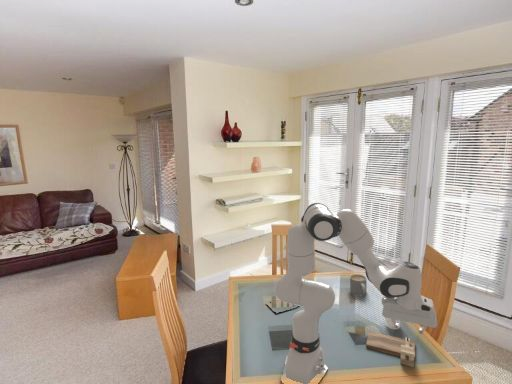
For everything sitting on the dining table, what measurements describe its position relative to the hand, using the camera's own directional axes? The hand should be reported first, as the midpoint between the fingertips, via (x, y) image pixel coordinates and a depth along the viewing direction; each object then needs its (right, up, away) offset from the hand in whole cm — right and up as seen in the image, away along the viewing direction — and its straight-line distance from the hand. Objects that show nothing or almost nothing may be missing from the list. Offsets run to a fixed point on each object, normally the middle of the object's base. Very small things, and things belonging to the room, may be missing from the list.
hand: (408, 330), depth 122 cm
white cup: (+7, -12, +28) cm, 31 cm away
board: (-2, -14, +13) cm, 19 cm away
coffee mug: (+2, -7, +63) cm, 64 cm away
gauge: (+3, -14, +6) cm, 16 cm away
